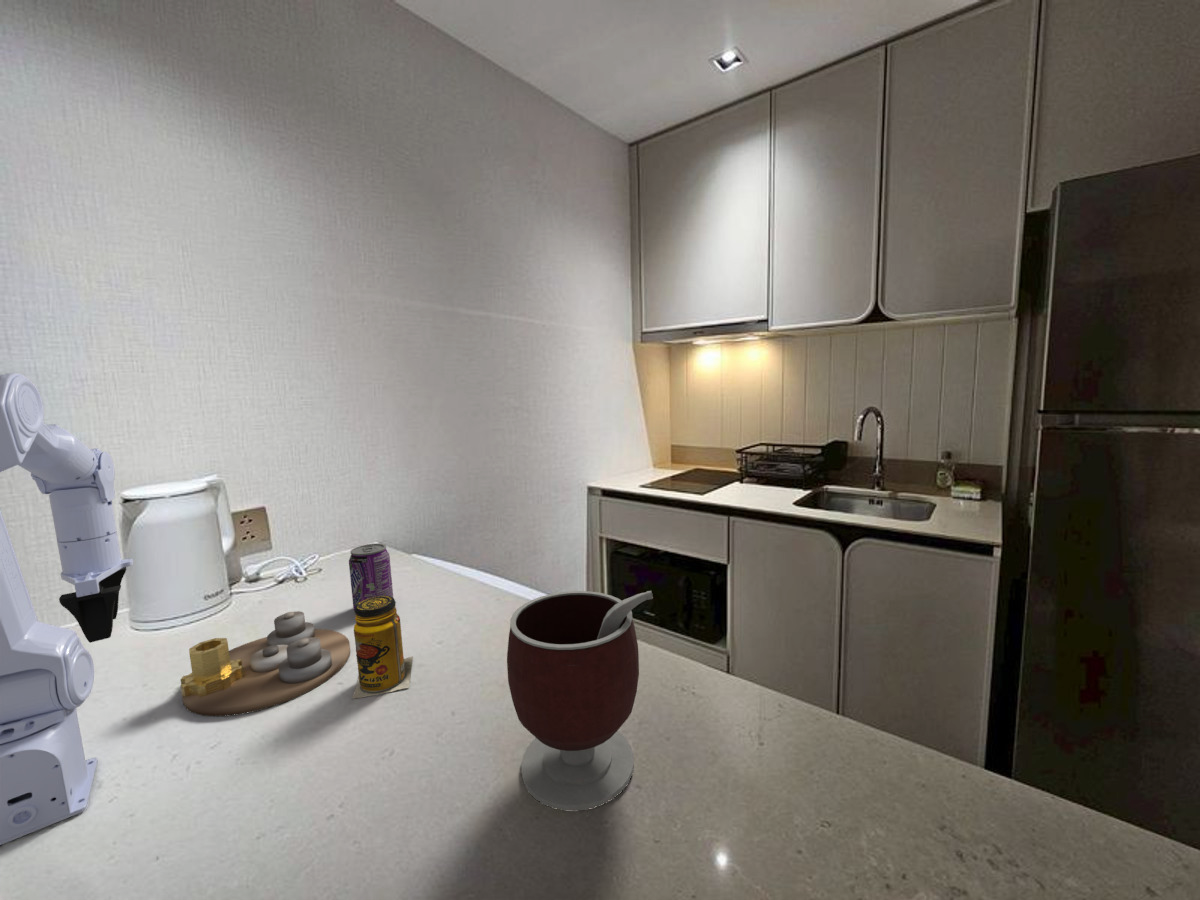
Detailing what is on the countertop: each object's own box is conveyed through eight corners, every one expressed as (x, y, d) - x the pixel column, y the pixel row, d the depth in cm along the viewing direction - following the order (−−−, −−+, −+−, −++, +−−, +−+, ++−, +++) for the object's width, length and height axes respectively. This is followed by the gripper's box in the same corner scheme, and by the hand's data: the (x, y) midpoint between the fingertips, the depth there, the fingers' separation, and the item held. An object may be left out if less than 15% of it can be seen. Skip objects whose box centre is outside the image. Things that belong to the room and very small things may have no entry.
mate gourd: (495, 812, 48) (482, 618, 45) (533, 718, 61) (525, 564, 59) (655, 826, 46) (650, 623, 43) (657, 725, 59) (654, 566, 57)
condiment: (351, 700, 66) (343, 616, 65) (362, 667, 74) (354, 592, 73) (409, 689, 69) (402, 607, 67) (413, 658, 77) (406, 584, 75)
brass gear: (246, 682, 69) (241, 645, 69) (182, 704, 65) (176, 665, 64) (240, 662, 74) (236, 628, 74) (181, 681, 70) (176, 645, 69)
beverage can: (354, 605, 97) (348, 546, 95) (393, 597, 100) (388, 540, 98) (353, 619, 90) (346, 557, 89) (394, 611, 93) (389, 550, 92)
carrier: (366, 671, 73) (363, 634, 72) (183, 740, 60) (176, 695, 59) (333, 623, 89) (329, 593, 88) (182, 669, 76) (176, 633, 75)
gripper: (123, 540, 65) (139, 637, 66) (131, 520, 76) (144, 604, 77) (43, 553, 60) (62, 657, 62) (64, 530, 71) (80, 619, 73)
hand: (103, 629), depth 69 cm, fingers open, 7 cm apart
